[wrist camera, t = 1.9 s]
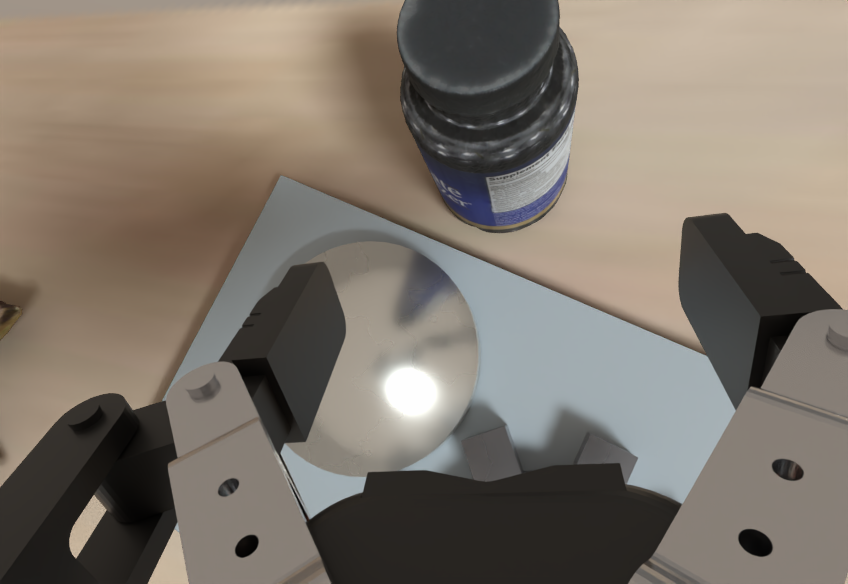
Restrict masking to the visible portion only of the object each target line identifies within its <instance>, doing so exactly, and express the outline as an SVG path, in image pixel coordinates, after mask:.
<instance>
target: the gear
mask: <svg viewBox="0 0 848 584" xmlns="http://www.w3.org/2000/svg"><path fill="white" fill-rule="evenodd" d="M461 442H462V445H463V448H464V451H465V454H466V457H467V461H468V464H469V467H470V470H471V473H472V476H473V479H474V480H478V481H485V482H487V481H495V480H499V479H503V478H506V477H510V476H514V475H518V474H522V473H526V472H530V471H533V470H528V471H524V470H523V467H522V465H521V462H520V459H519V456H518V453H517V451H516V448H515V445H514V442H513V439H512V436H511V434H510V431H509V428H508V425H504V426H501V427H498V428H495V429H492V430H489V431H486V432H483V433H480V434H477V435H474V436H471V437H468V438H465V439H463V440H462V441H461ZM637 460H638V457H637V456H635V455H633V454H632V453H630V452H628V451H626V450H624V449H622V448H620V447H618V446H616V445H614V444H612V443H610V442H607V441H605V440H603V439H601V438H599V437H597V436H595V435H593V434H591V433H589V432H587V433H586V435H585V438H584V440H583V442H582V444H581V446H580V449H579V451H578V453H577V455H576V458H575V460H574V462H573V464H572V465H577V464H605V463H620V465H621V469H622V473H623V478H624V482H625V484H627V483H628V480H629V478H630V476H631V473H632V471H633V469H634V467H635V464H636V462H637Z"/></svg>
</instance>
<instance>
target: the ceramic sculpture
mask: <svg viewBox="0 0 848 584" xmlns="http://www.w3.org/2000/svg"><path fill="white" fill-rule="evenodd" d="M21 315H22V309H21V308H20V307H19V306H14V305H9V304H6V303H4V302H3V301H0V340H1V339H2V338H3V337H4V336H5V335H6V334H7V333H8V332H9V330H10V329H11V327H12V326H13V325H14V323H15V322H16V321H17V320H18V318H19V317H20V316H21Z"/></svg>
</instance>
